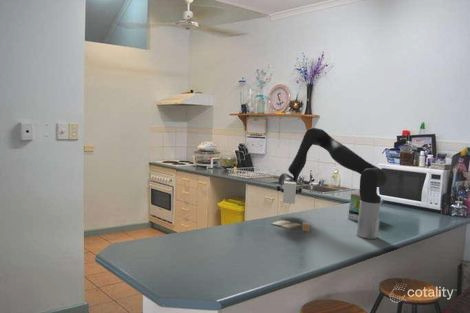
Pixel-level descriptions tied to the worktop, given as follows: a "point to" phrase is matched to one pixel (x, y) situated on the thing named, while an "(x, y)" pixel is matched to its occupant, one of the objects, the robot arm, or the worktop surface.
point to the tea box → (354, 206)
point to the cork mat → (286, 224)
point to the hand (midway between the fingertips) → (289, 191)
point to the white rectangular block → (289, 192)
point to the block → (306, 227)
